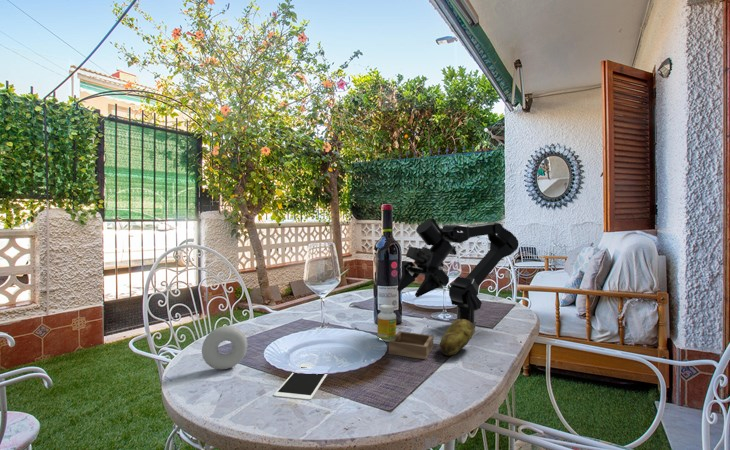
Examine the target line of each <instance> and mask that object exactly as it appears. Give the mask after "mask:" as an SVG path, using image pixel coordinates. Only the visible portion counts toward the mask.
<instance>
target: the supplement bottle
mask: <svg viewBox="0 0 730 450" xmlns="http://www.w3.org/2000/svg"><path fill="white" fill-rule="evenodd" d="M379 306H380V307H379V311H380V312H379V313H378V314H377V335H376V336H377V337H379V338H381V339H382V340H384V341H385V342H387V343H389V341H390V340H391V339H392V338H393V337H394V336H395V335H396V334H397V315H396V313H395V312H394V310H395V306H394V305H393V304H381V305H379ZM377 337H376V338H377ZM384 341H383V342H384Z"/></svg>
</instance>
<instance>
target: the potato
mask: <svg viewBox="0 0 730 450" xmlns="http://www.w3.org/2000/svg"><path fill="white" fill-rule="evenodd" d="M474 332H475V328H474V325H473V323H471V322H470V321H468V320H466V319H457V318H456V319H455V320H454V321H452V323H451V324H450V325H449V327H448V328H447V329H446V331H445V332H444V333H443V336H442V337H441V339H440V342H439V349H440V351H441V353H442V354H443V355H446V357H449V356H453V355H456V354H457V353H458V352H459V351H461V350H463V349H464V348H465V347H466V346H467V344H468V343H469V342H470V340H472V338H473V336H474Z"/></svg>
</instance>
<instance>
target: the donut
mask: <svg viewBox="0 0 730 450" xmlns="http://www.w3.org/2000/svg"><path fill="white" fill-rule="evenodd" d="M247 339H248V338H247V336H246V334H245V333H244V331H242V330H241V329H240V328H238V327H235V326H232V325H223V326H220V327H217V328H215V329H213V330H211V331H210V332H209V334H208V335H206V337H205V339H204V340H203V342H202V346H201V347H202V348H201V355H202V359H203V361H204V362H205V364H206V365H208V366H209V367H210V368H212V369H216V370H228V369H230V368H233V367H235V366H236V365H238V364H239V363H240V362H241V361H242V360H243V358H244V357H245V355H246V353H247V351H248V345H249V344H248V340H247ZM223 342H229V343H231V345H232V348H231V349H230V351H229V352H226V353H220V352H219V351H218V350H219V349H218V348H219V345H220V344H221V343H223Z"/></svg>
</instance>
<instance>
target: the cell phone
mask: <svg viewBox="0 0 730 450" xmlns="http://www.w3.org/2000/svg"><path fill="white" fill-rule="evenodd" d="M316 365H317V364H310V363H309V364H308V363H300V364H299V365H298V366H297V367H301V368H307V367H312V366H316ZM327 376H328V374H318V375H316V374H297V373H293V372H292V373H291V374H290V375H289V377H287V379H286V380H284V382H283V383H282V384H281V385H280V386H279V387H278V389H277V390H275V392H274V393H273V397H276V398H284V399H294V400H303V401H311V400H312V399H313V398H314V396H315V394H316V393H317V391H318V390H319V388H320V387H321V385H322V384H323V382H324V380H325V379H326V377H327Z"/></svg>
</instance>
